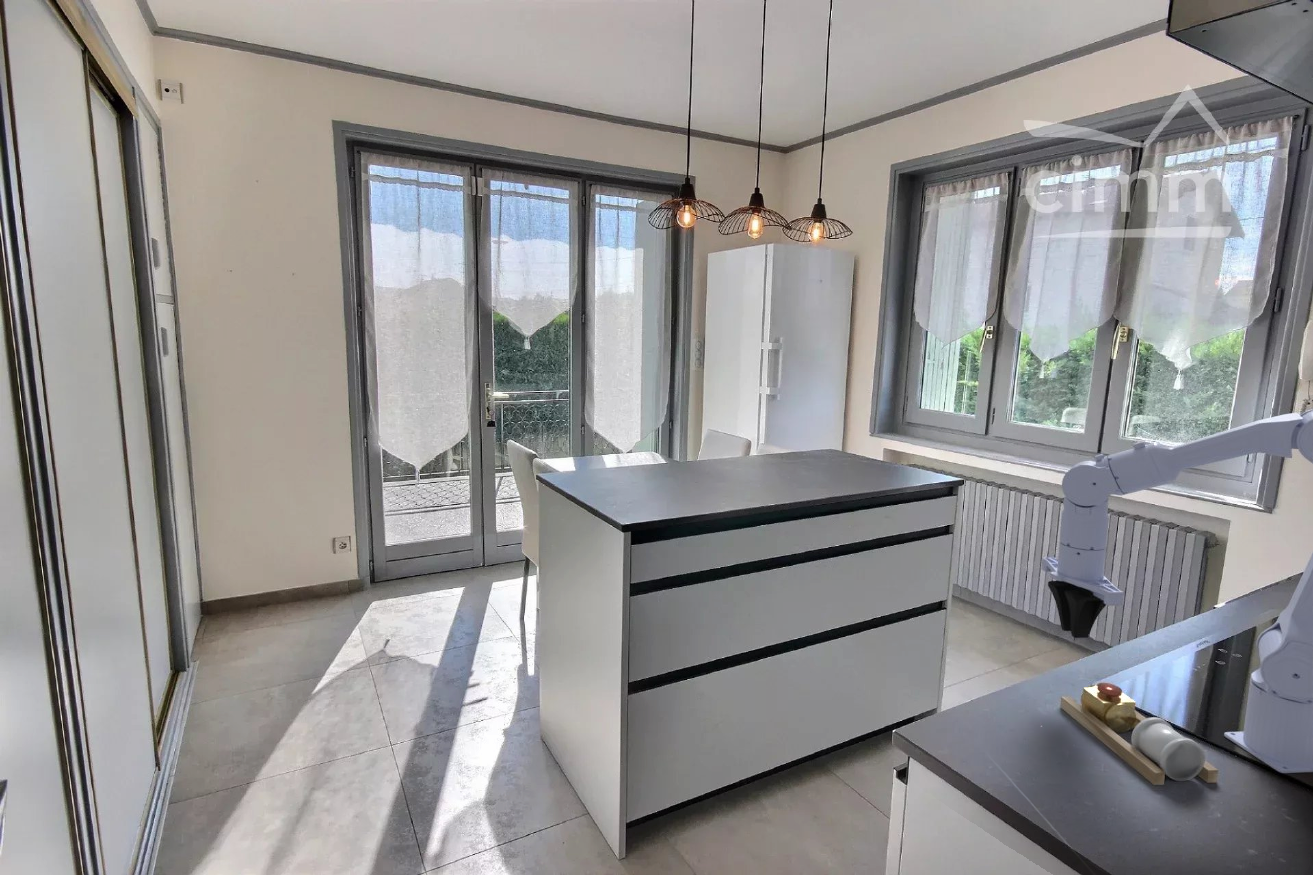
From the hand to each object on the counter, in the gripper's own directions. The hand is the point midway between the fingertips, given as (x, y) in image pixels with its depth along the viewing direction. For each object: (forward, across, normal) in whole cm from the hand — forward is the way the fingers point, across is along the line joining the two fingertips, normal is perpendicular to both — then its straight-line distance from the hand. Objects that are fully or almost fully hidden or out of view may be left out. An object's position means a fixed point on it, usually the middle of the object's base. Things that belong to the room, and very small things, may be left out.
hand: (1074, 633), depth 98 cm
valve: (+9, +8, 0) cm, 12 cm away
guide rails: (+9, +12, 0) cm, 15 cm away
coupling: (+9, +18, 0) cm, 20 cm away
